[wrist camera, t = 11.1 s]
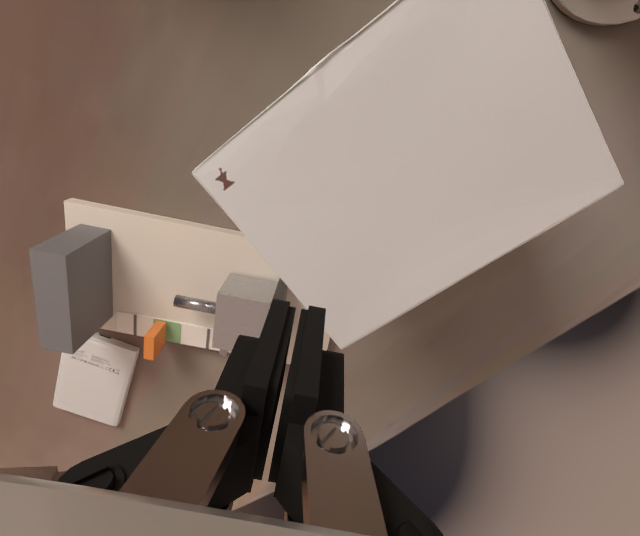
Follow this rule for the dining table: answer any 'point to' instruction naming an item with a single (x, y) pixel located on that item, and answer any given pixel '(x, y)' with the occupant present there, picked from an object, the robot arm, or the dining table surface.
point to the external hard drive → (96, 379)
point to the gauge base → (137, 276)
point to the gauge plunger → (237, 308)
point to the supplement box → (414, 158)
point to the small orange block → (154, 340)
